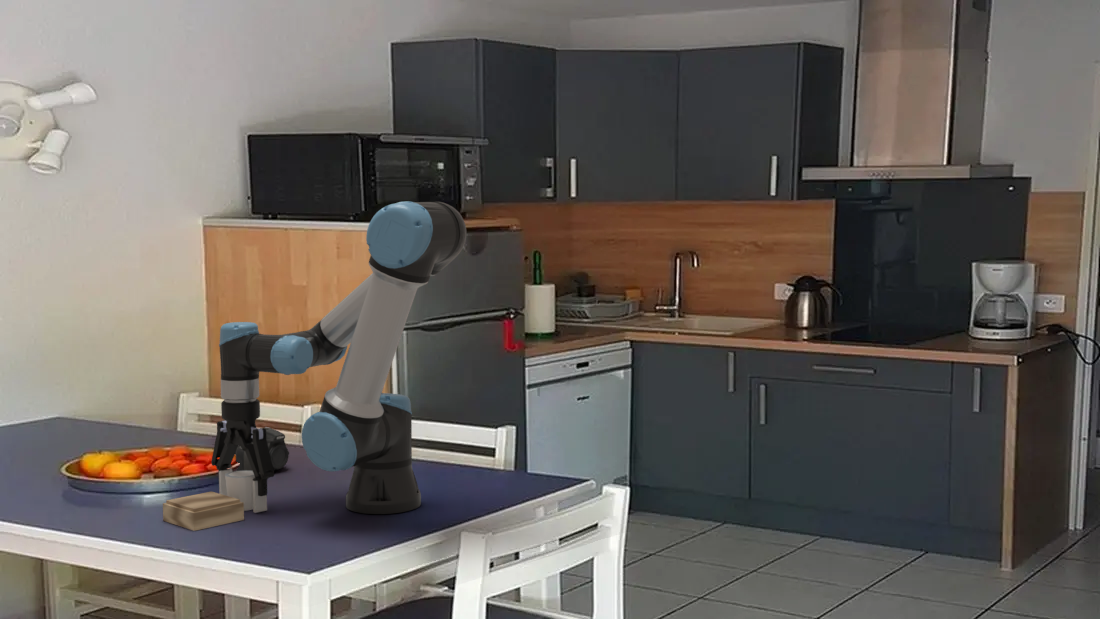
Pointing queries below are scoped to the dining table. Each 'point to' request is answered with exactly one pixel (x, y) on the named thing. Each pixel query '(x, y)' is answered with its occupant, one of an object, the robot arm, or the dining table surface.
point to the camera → (276, 451)
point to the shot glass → (241, 486)
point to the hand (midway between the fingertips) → (243, 506)
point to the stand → (203, 510)
